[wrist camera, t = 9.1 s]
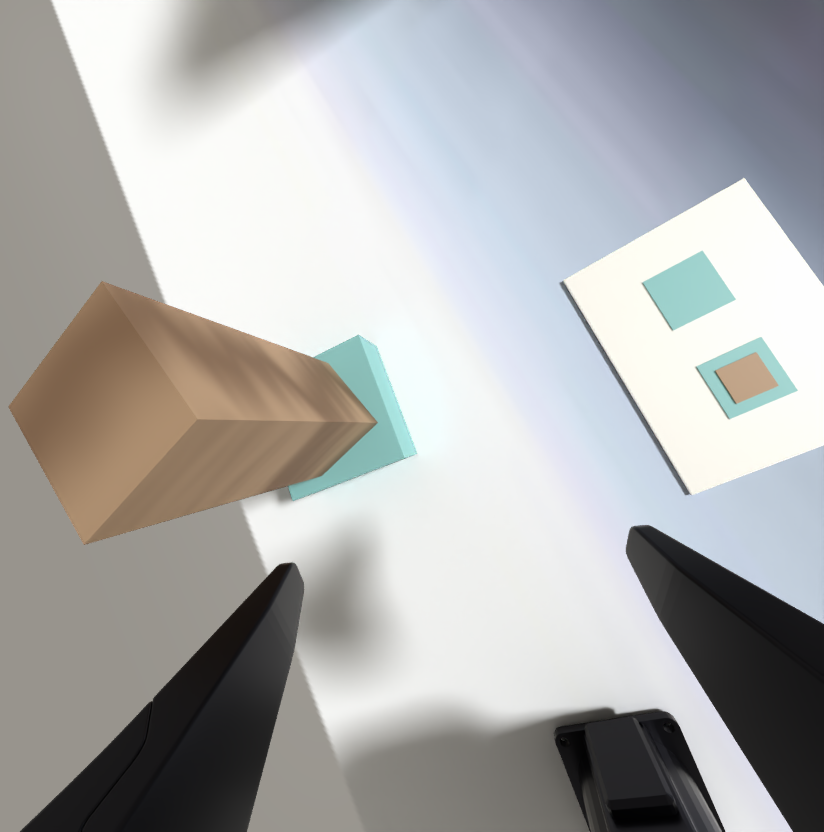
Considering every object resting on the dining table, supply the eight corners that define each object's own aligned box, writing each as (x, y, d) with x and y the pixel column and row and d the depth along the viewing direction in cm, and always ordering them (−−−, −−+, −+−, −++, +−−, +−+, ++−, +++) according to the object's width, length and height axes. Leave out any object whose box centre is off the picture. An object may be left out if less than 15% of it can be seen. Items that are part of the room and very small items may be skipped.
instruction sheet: (910, 410, 16) (917, 410, 15) (690, 494, 18) (693, 495, 17) (742, 180, 17) (746, 176, 17) (563, 281, 20) (563, 279, 19)
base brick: (417, 453, 22) (404, 457, 19) (318, 491, 24) (292, 501, 21) (376, 346, 23) (358, 334, 20) (284, 391, 25) (255, 386, 22)
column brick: (378, 422, 19) (197, 419, 8) (321, 476, 20) (83, 544, 9) (328, 363, 20) (101, 281, 9) (276, 416, 21) (8, 406, 10)
